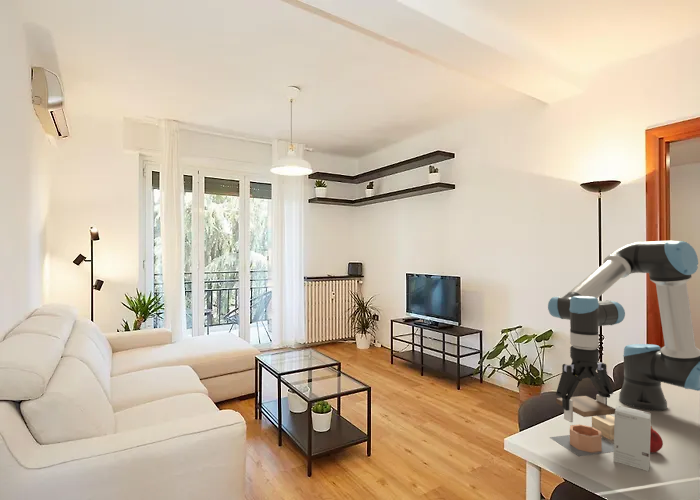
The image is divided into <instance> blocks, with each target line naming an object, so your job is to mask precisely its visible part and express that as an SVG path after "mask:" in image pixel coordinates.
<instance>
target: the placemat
mask: <svg viewBox="0 0 700 500" xmlns="http://www.w3.org/2000/svg"><path fill="white" fill-rule="evenodd" d="M549 439H551V440H553V441H554V442H556V443H558V444H559V445H561V446H562V447H564V448H565V449H567V450H568V451H570V452H571V453H573V454H575V455H576V456H578V457H584V456H593V455H600V454H608V453H614V443H612V442H611V441H610V440H608V439H605V438H603V437H602V451H601V452H593V453H591V452H587V451H583V450H578V449H577V448H575V447H574V446H572V445H570V434H566V435H557V436H550V437H549Z"/></svg>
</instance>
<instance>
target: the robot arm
mask: <svg viewBox="0 0 700 500" xmlns="http://www.w3.org/2000/svg"><path fill="white" fill-rule="evenodd" d="M698 265H699V259H698V255H697V252H696V250H695V248H694V247H693V246H692V245H691V244H690V243H689V242H687V241H682V240H673V239H672V240H671V239H670V240H655V241H636V242H633V243H628V244H625V245H624V246H622V247H619V248H618V249H616V250H614V251H613V252H611V253H610V254H608V255H607V256H606V257H605V258H604V259H603V262H602V264H601V265H600V266H599V267H598V268H596V269H595V270H594V271H593V272H591V273H590V274H589V275H588V276H586V277H585V278H584V279H583V280H581V281H580V282H579V283H578V284H577V285H576V286H574V287H573V288H572V289H571V290H570V291H568V292H566V294H565V295H563V296H559V295H557V296H553V297H551V298H550V299H549V301H548V304H547V310H548V312H549V314H550V315H551V316H552V317H554V318H559V319H561V320H567V321H569V323H570V325H569V327H570V330H569V340H570V341H569V343H570V345H571V346H570V347H569V349H570V350H569V353H570V357H569V358H571V364H566V363H564V364H562V371H561V375H560V378H559V382H558V385H557V389H556V392H555V394H556V395H555V396H557V397H558V398H562V406H561V408H562V409H563V419H564V420H566V421H568V422H569V423H574V412H573V400H571V397H573V394H575V391H576V389H577V388H578V385H579V384H580V382H582V380H583V379H587V378H588V379H589V380H590V381H591V383H592V384H593V386H594V388H595V389H596V392H597V394H596V396H595V400H596V401H599V402H601V403H603V404H606V405H608V398H610V397H611V395H613V394H614V391H613V388H612V383H611V381H610V378H609V374H608V371H607V364H606V363H604V362H601V361H599V360H600V349H598V348H599V347H600V346H599V345H600V344H599V343H600V342H599V341H600V339H599V338H600V337H599V328H600V327H602V326H614V325H618V324H620V323H622V321H624V319H625V316H626V311H625V308H624V307H623V305H622V304H620V303H619V302H618V301H614V300H599V299H598V298H600V297H601V295H603V294H604V293H605V292H606V291H608V290H609V289H610V288H611V287H612V286H614V284H616V282H618V281H619V280H620V279H623V278H627V277H629V276H630V275H632V274H636V273H637V274H639V273H641V274H648V275H649V280H650V281H651V282H652V283H654V284H655V286H656V287H655V288H656V294H657V302H658V309H659V315H660V323H661V327H662V328H661V329H662V335H663V342H664V346H662V347H661V346H659V345H657V344H653V343H651V344H650V343H649V344H648V343H632V344H627V345H625V346H624V347H623V355H622V356H623V376H624V377H623V382H622V383H623V384H621V385H622V387H621V389H620V391H619V394H618V396H619V397H618V398H619V399H618V400H619V401H620V402H621V403H623V404H625V405H627V406H630V407H632V408H636V409H640V410H641V409H642V410H646V411H647V410H648V411H658V412H659V411H665V410H667V409H668V400H667V399H666V398H665V397H666V396H665V395H664V391H663V388H662V383H664V384H668V385H671V386H675V387H679V388H684V389H685V390H693V391H697V392H700V348H698V347H697V346H696V340H695V332H694V325H693V318H692V311H691V303H690V297H689V289H688V282H689V281H690V280H691V279H692V275H694V274H695V273H696V272H697V270H698V268H699V267H698ZM598 417H600V418H603V419H606V415H600V416H598Z"/></svg>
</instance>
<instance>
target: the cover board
mask: <svg viewBox="0 0 700 500" xmlns="http://www.w3.org/2000/svg"><path fill="white" fill-rule="evenodd" d="M555 399H556V400H555V404H557V405H559V406H561V407H562V398H561V397H557V398H555ZM571 400H573V413H575V414H577V415H579V416H581V417H583V418H587V417H588V418H589V417H593V416H600V415H615V409H616V407H615V408H614V407H613V406H610V405H608V404H607V405H606V404H603V403H601V402H599V401H596V399H594V398H592V397H590V396H588V395H579V396H578V395H577V396H572V397H571Z"/></svg>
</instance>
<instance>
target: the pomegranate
mask: <svg viewBox="0 0 700 500" xmlns="http://www.w3.org/2000/svg"><path fill="white" fill-rule="evenodd" d="M662 438H663V437H662V436H661V435H660V434H659V432H657V431H656V430H655V429H654V428H653V426H652V425H651V434H650V454H652V453H657V452H659V451H661V449H662V448H663V446H664V443H663V439H662Z"/></svg>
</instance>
